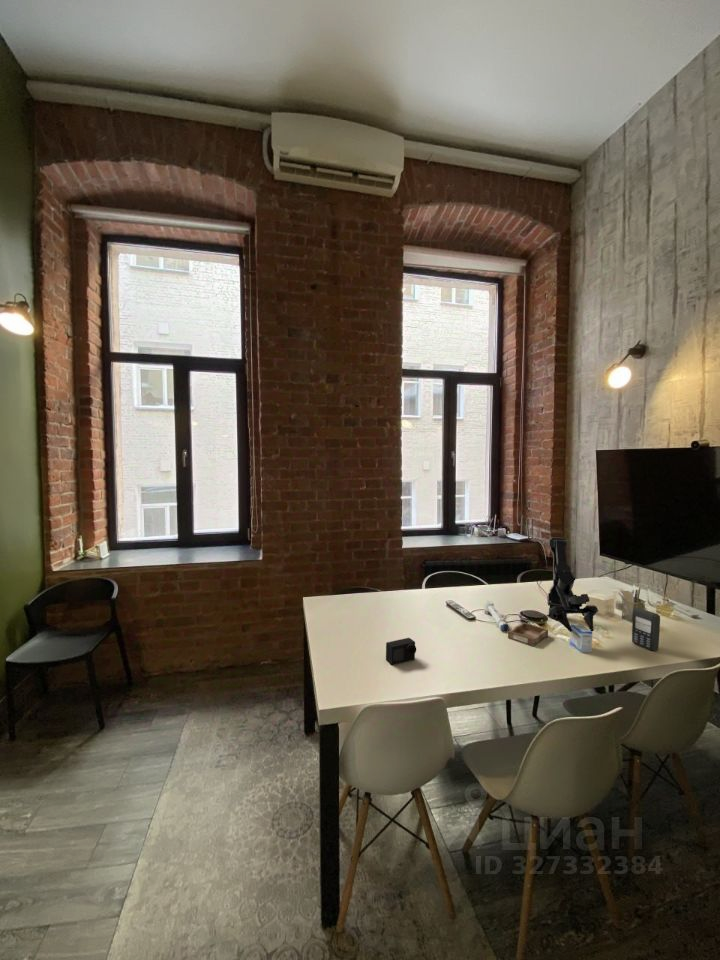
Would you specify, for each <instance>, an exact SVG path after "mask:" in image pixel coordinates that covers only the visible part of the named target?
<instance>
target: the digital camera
mask: <svg viewBox="0 0 720 960" xmlns="http://www.w3.org/2000/svg"><path fill="white" fill-rule="evenodd" d="M416 653H417V647H416V641H415V640H414V639H412V638H410V637H405V638H402V639H396V640H392V641H387V642H386V643H385V661H386V662H388V664H390V665H391V666H394V665H398V664H402V663H407V662H410V661H414V660H415V659H416V657H415V655H416Z"/></svg>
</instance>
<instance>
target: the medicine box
mask: <svg viewBox="0 0 720 960" xmlns="http://www.w3.org/2000/svg"><path fill="white" fill-rule="evenodd" d="M570 626H571V628H572V632H570V631H569V633H570V634H569V645H570V646H571V647H572V648H574V649H576V650H577V651H579V652H580V653H582V654H584V653H586V654H588V653H592V650H593V649H592V647H593V632H592V631H591V630H590V629H588V628H587V627H586V626H584V625H582V624H580V623H571V624H570Z"/></svg>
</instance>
